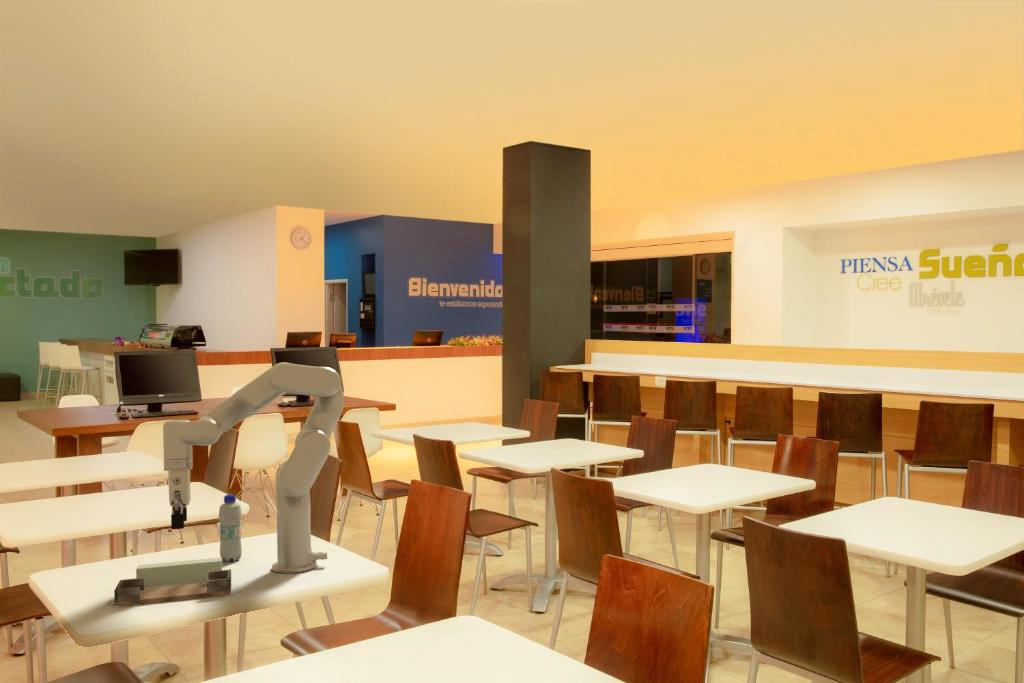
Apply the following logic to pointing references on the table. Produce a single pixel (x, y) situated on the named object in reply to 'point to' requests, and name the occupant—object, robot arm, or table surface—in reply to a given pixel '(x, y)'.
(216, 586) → the cradle
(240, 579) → the table surface
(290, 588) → the table surface
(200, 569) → the slat
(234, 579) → the table surface
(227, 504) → the bottle
